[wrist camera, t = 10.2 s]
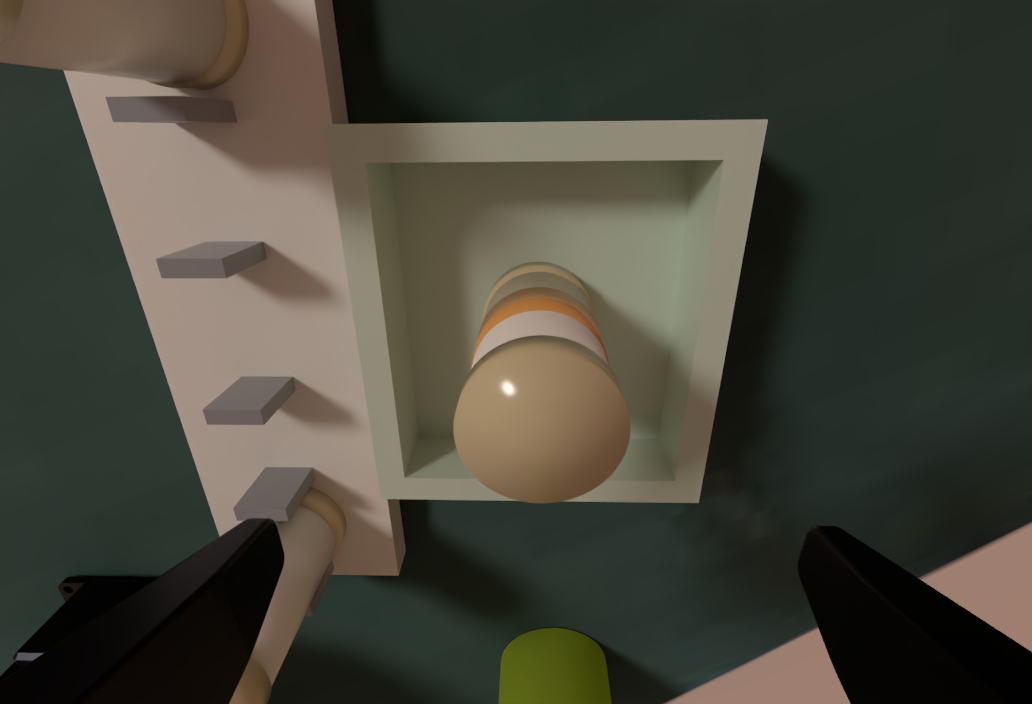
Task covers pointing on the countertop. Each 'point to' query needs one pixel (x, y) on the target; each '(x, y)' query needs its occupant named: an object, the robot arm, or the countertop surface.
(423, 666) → the countertop surface
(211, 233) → the fuse holder
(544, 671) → the soap dispenser
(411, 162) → the tray
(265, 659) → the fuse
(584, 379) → the fuse marked
